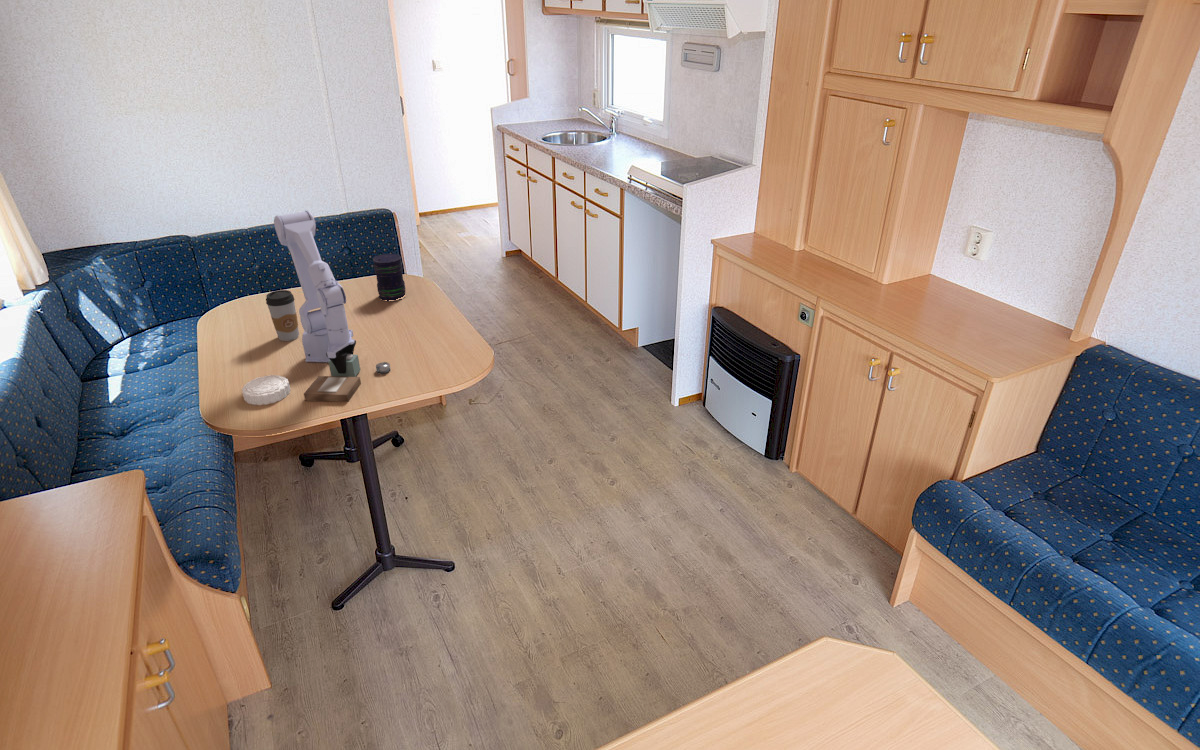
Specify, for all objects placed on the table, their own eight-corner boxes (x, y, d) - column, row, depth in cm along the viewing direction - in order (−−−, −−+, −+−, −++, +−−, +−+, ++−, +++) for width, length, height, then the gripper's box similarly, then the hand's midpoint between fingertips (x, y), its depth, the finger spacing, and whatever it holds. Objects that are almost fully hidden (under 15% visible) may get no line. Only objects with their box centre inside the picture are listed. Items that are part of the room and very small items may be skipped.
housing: (331, 376, 199) (327, 358, 196) (337, 369, 203) (333, 351, 200) (355, 377, 199) (351, 359, 196) (360, 369, 203) (357, 352, 200)
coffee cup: (280, 345, 218) (269, 301, 211) (271, 336, 224) (261, 293, 216) (306, 338, 223) (296, 295, 215) (297, 329, 228) (288, 287, 221)
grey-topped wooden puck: (374, 374, 202) (373, 368, 201) (379, 367, 205) (378, 362, 204) (388, 374, 202) (387, 368, 201) (392, 368, 205) (391, 362, 204)
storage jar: (399, 289, 260) (394, 251, 253) (411, 297, 253) (405, 258, 246) (374, 295, 255) (368, 257, 247) (385, 303, 248) (379, 264, 241)
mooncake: (271, 408, 185) (268, 397, 183) (234, 402, 188) (231, 391, 186) (300, 387, 195) (297, 376, 193) (264, 381, 198) (261, 370, 196)
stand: (305, 400, 188) (303, 392, 187) (319, 382, 197) (318, 375, 196) (348, 401, 188) (346, 393, 187) (361, 383, 197) (359, 376, 195)
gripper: (341, 338, 187) (350, 381, 194) (360, 316, 200) (367, 357, 206) (316, 337, 187) (325, 380, 194) (336, 315, 200) (344, 356, 207)
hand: (345, 368), depth 200 cm, fingers closed on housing, 4 cm apart
